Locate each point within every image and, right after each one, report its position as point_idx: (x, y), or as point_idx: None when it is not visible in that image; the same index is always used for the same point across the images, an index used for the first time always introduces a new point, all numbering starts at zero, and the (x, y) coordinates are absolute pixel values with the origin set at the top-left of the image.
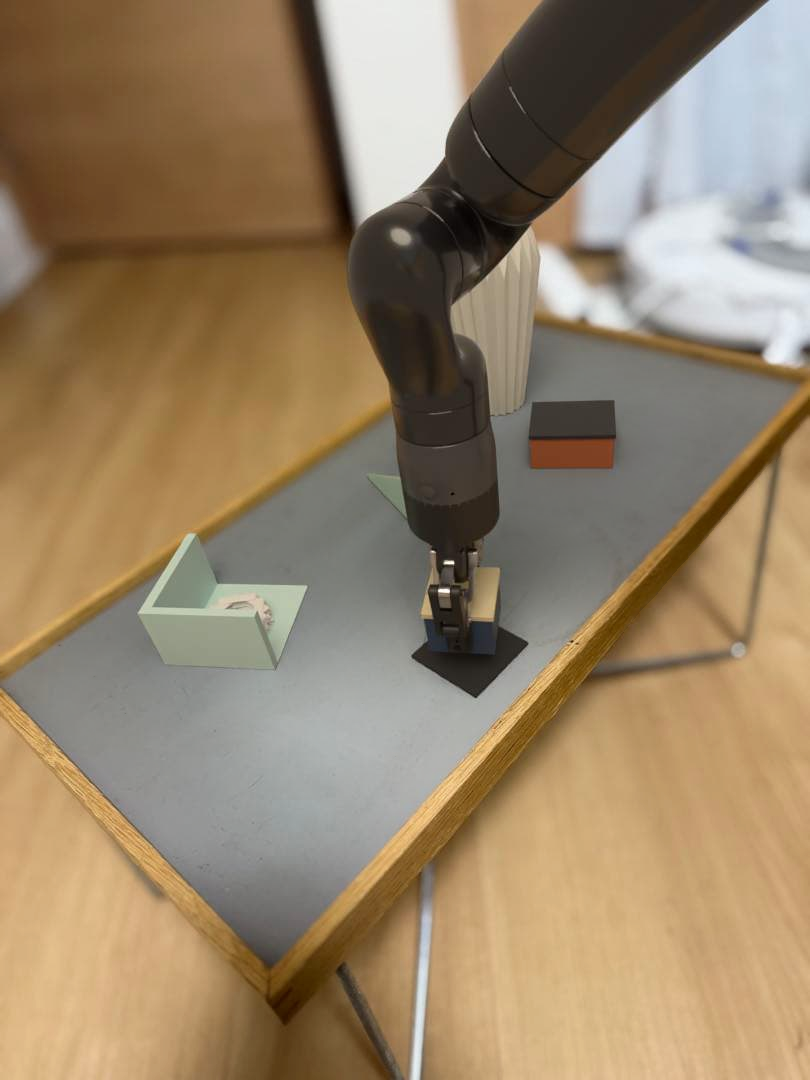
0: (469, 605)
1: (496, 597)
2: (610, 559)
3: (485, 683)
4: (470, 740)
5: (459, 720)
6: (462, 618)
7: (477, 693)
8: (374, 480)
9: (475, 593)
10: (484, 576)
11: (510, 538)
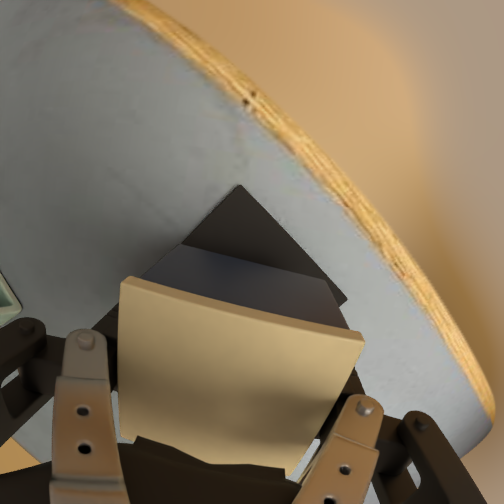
0: (356, 435)
1: (264, 316)
2: (75, 30)
3: (326, 281)
4: (411, 310)
5: (376, 323)
6: (469, 475)
7: (343, 296)
8: None
9: (353, 449)
10: (161, 340)
11: (6, 188)
